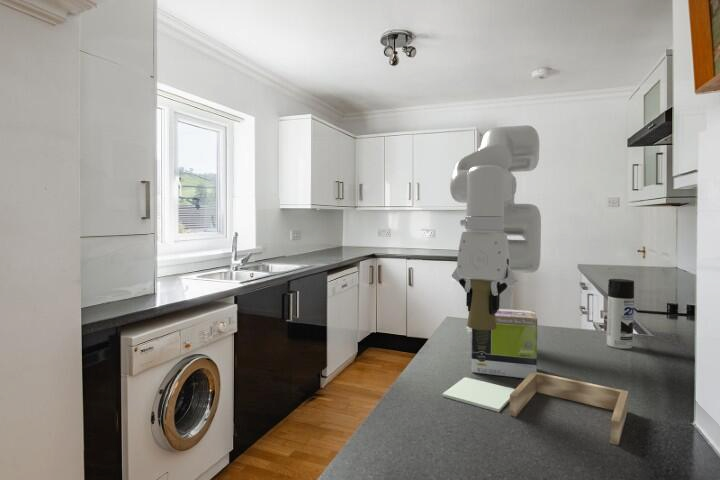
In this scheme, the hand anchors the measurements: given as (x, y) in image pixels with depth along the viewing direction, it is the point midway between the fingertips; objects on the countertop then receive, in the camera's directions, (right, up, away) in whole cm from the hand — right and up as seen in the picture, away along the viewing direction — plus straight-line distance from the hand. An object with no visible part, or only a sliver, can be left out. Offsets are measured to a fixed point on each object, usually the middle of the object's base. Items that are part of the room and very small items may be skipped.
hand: (482, 311), depth 91 cm
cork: (0, -3, 0) cm, 3 cm away
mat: (0, -18, +1) cm, 18 cm away
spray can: (+52, -17, +37) cm, 66 cm away
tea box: (+10, -18, +16) cm, 26 cm away
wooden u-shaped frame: (+15, -19, -8) cm, 25 cm away
